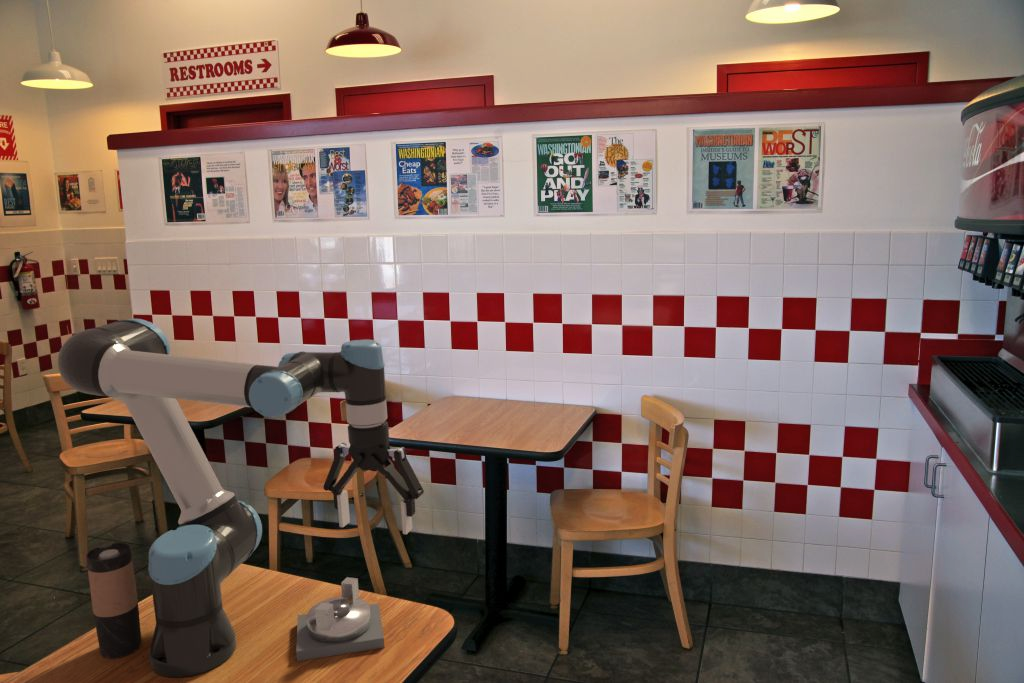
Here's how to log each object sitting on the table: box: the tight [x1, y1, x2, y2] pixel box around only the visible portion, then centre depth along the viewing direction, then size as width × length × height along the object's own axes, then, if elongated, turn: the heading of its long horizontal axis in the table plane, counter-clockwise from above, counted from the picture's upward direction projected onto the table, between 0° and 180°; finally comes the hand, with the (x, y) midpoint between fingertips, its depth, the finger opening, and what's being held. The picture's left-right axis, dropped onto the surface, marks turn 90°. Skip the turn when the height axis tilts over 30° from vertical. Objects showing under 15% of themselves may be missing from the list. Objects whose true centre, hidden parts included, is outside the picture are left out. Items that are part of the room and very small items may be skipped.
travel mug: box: [86, 542, 142, 659], centre depth 149 cm, size 8×8×20 cm
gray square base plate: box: [295, 603, 385, 662], centre depth 153 cm, size 16×13×3 cm
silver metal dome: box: [306, 576, 371, 642], centre depth 153 cm, size 12×12×7 cm
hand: (375, 527), depth 152 cm, fingers open, 13 cm apart
